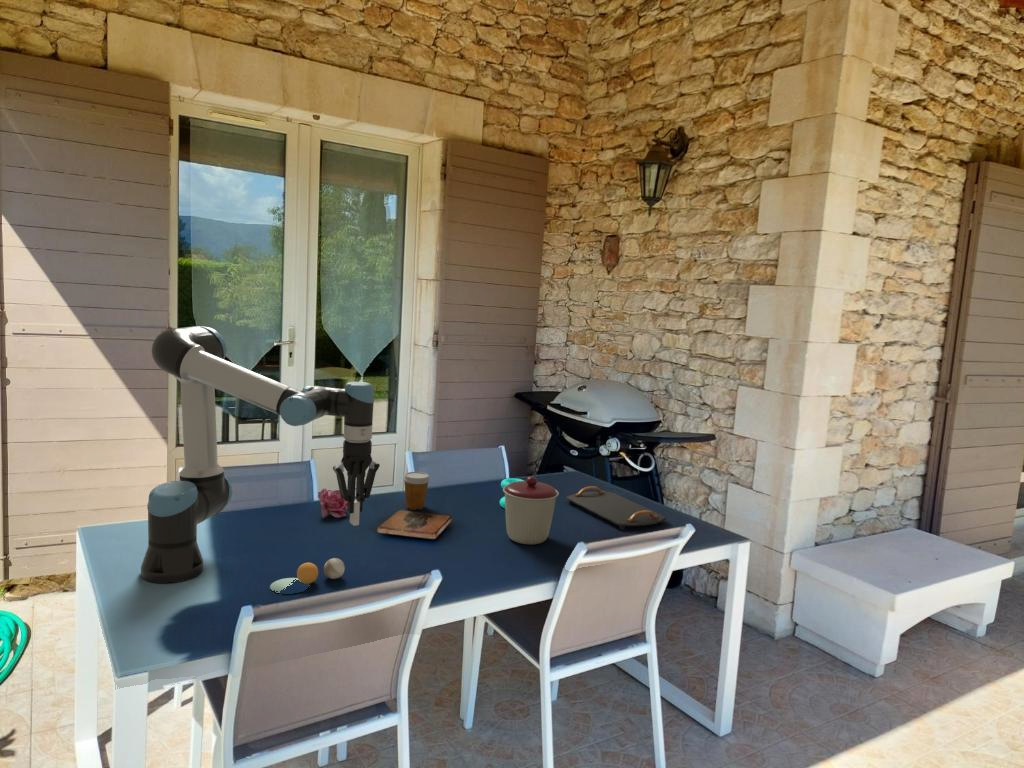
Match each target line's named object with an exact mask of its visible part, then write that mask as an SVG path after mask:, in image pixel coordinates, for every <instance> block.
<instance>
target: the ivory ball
mask: <svg viewBox="0 0 1024 768" xmlns="http://www.w3.org/2000/svg"><path fill="white" fill-rule="evenodd" d="M345 568H346V567H345V563H344V562H343V560H342V559H340V558H338V557H332V558H330V559H328V560H327V561H326V562H325V564H324V566H323V573H324V575H325V576H326V577H327V578H328V579H331V580H336V579H339V578H340V577H342V576H343V575H344V572H345V570H346V569H345Z"/></svg>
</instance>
